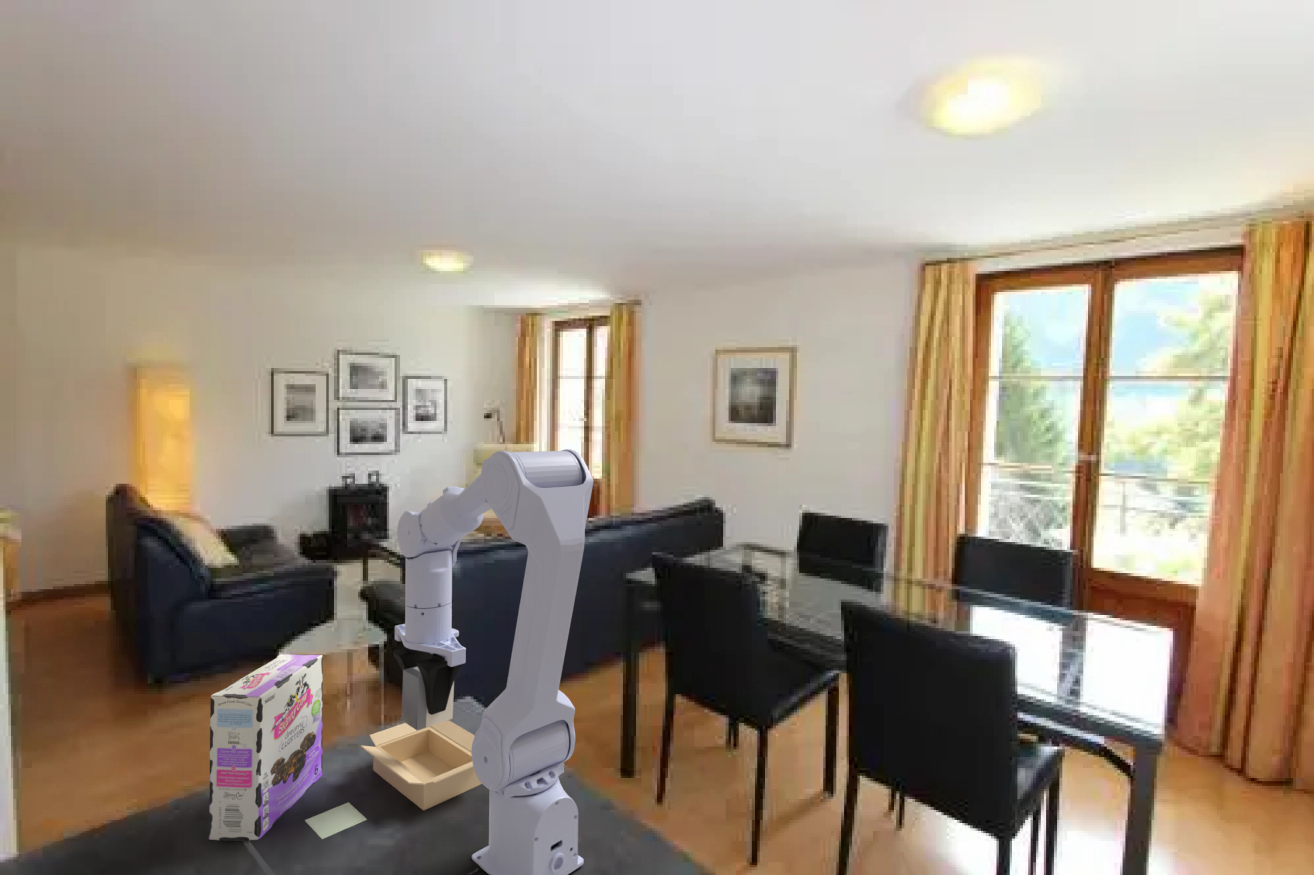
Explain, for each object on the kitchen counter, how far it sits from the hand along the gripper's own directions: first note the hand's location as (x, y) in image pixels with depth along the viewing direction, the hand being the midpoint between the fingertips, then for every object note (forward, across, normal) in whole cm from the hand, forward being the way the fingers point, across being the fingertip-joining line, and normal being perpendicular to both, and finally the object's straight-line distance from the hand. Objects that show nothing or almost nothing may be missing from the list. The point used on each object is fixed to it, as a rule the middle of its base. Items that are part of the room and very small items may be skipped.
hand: (427, 706), depth 86 cm
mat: (+10, -1, +12) cm, 15 cm away
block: (+2, 0, 0) cm, 2 cm away
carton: (+10, 0, 0) cm, 10 cm away
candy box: (+10, +8, +16) cm, 20 cm away
